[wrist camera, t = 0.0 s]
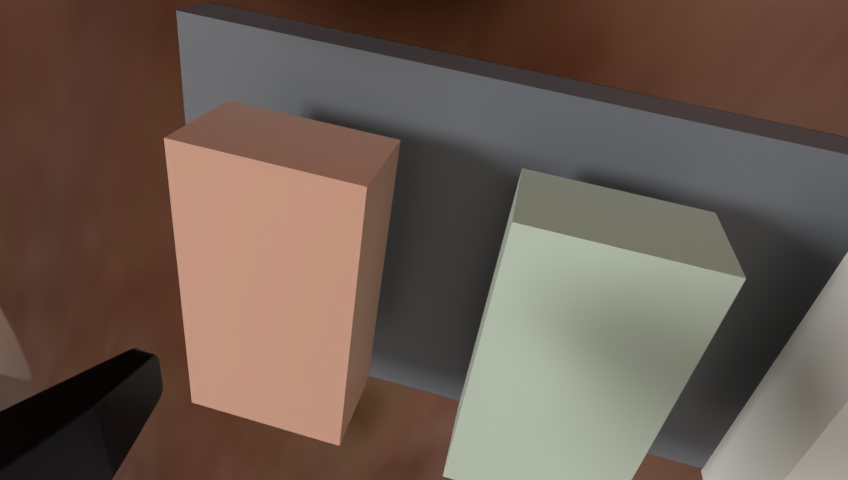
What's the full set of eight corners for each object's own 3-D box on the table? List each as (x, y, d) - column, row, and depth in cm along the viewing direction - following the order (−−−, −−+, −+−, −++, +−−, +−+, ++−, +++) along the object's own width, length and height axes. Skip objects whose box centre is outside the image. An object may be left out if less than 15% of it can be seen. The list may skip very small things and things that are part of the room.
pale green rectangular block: (601, 443, 23) (606, 524, 20) (458, 403, 24) (442, 476, 21) (715, 212, 17) (745, 278, 14) (522, 168, 18) (512, 222, 15)
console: (864, 479, 26) (905, 559, 23) (223, 304, 30) (181, 353, 26) (1129, 196, 18) (1247, 260, 15) (206, 2, 22) (143, 19, 18)
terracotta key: (368, 377, 24) (339, 445, 21) (238, 341, 25) (192, 402, 22) (400, 139, 18) (367, 187, 15) (228, 100, 19) (164, 137, 16)
